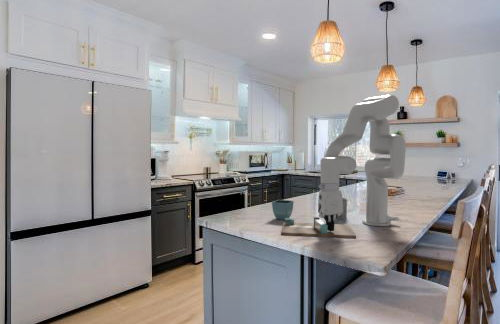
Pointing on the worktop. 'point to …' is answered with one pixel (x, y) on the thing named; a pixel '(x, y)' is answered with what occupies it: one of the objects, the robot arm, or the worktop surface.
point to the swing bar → (321, 226)
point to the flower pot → (282, 209)
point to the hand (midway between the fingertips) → (330, 230)
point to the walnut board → (310, 229)
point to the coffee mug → (344, 213)
